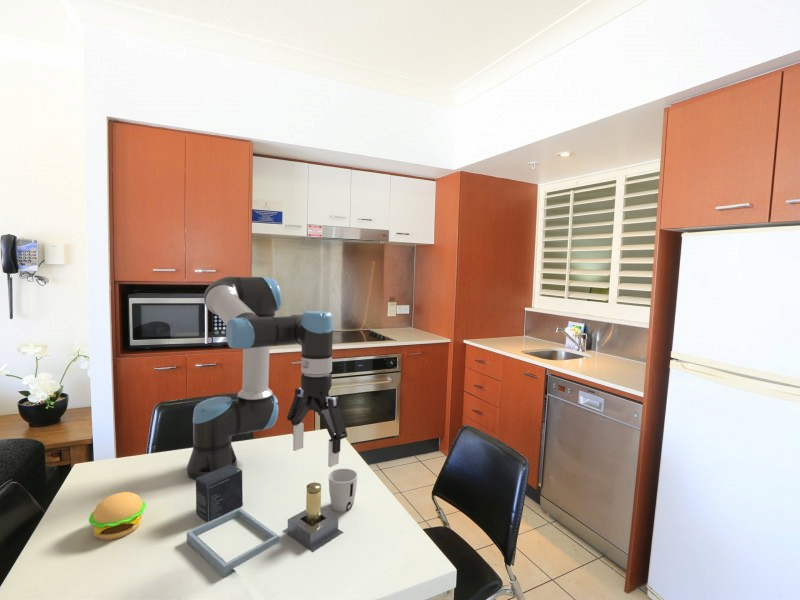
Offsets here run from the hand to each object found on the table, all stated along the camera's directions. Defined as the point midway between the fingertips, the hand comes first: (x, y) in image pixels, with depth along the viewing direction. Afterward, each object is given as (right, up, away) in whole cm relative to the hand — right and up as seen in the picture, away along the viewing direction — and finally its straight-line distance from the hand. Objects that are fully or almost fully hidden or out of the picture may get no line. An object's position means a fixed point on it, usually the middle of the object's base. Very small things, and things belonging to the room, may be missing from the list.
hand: (315, 456), depth 103 cm
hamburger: (-51, -19, +2) cm, 54 cm away
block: (-1, -21, +2) cm, 21 cm away
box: (-29, -19, +11) cm, 37 cm away
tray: (-20, -20, -3) cm, 28 cm away
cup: (+5, -20, +14) cm, 25 cm away
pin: (-1, -20, +1) cm, 20 cm away
